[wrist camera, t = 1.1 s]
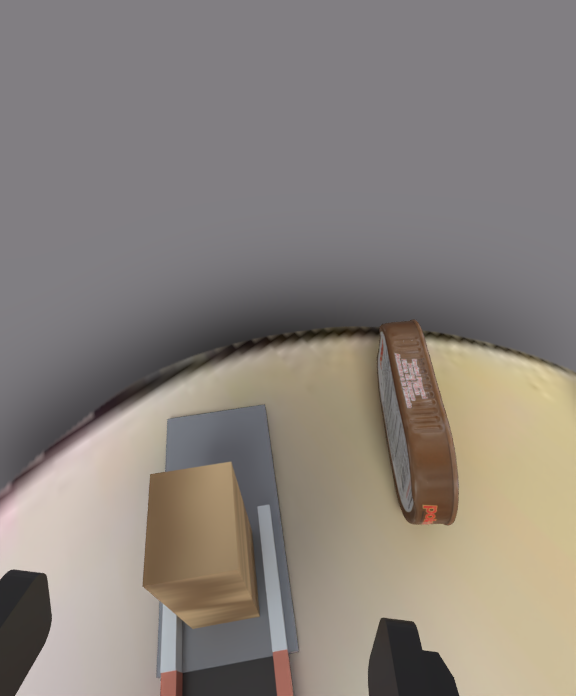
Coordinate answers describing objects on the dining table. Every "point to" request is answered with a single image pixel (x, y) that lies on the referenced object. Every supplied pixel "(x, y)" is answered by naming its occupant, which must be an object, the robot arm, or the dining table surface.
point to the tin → (416, 426)
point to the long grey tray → (270, 562)
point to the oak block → (200, 546)
